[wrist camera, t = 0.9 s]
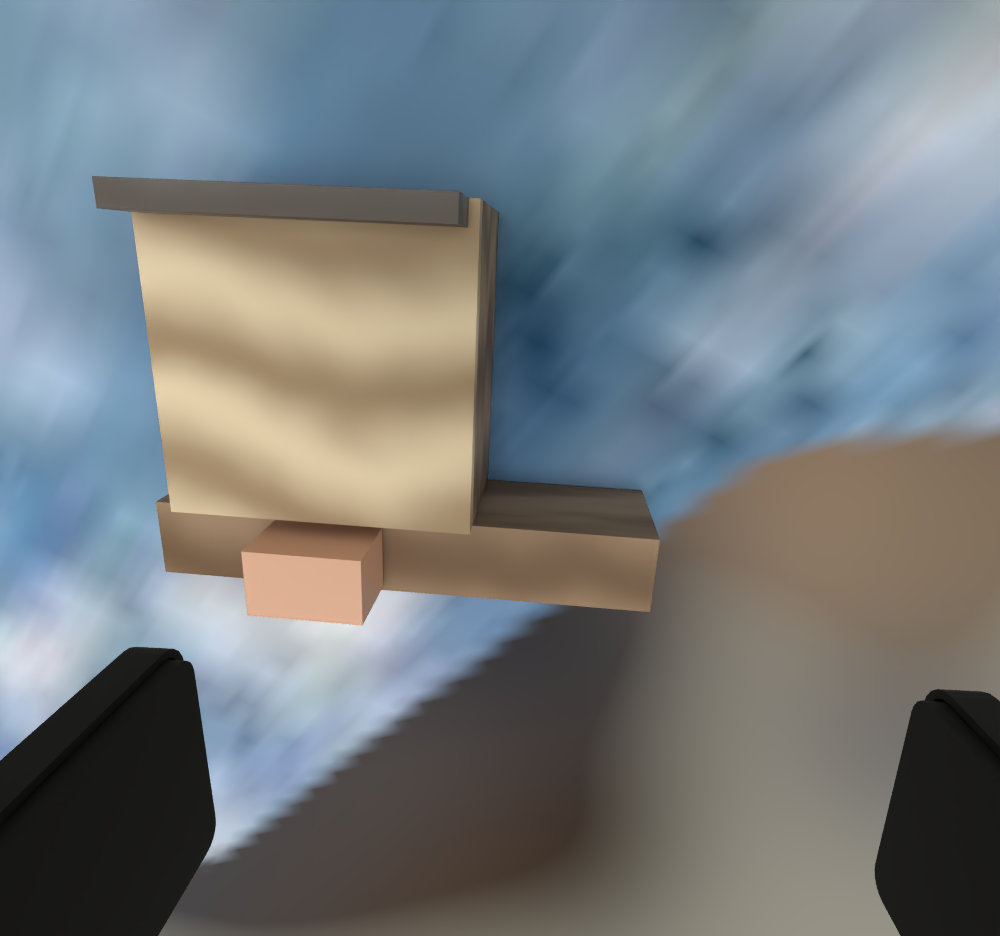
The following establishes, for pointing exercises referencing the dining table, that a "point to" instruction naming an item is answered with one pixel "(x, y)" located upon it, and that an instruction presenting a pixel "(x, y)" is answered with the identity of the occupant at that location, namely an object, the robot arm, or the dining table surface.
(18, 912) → the robot arm
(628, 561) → the toolbox
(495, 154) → the dining table surface
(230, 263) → the toolbox lid
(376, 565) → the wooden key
